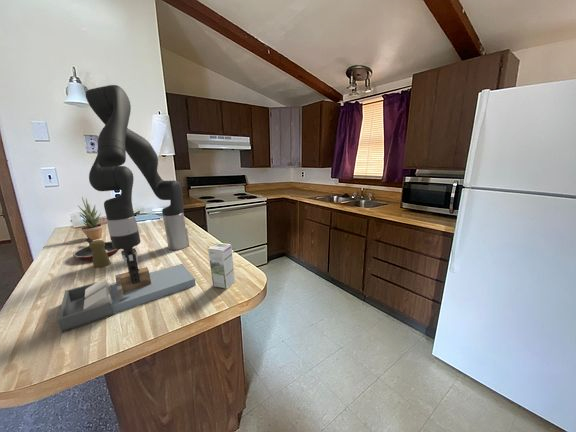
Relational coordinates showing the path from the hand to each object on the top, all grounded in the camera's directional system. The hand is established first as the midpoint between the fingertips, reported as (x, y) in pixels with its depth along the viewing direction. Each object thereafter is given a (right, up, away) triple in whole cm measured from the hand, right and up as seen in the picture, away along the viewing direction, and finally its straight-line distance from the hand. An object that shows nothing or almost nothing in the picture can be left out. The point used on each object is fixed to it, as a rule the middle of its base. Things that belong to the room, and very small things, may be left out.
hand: (134, 277), depth 79 cm
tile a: (-5, -6, -7) cm, 11 cm away
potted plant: (-61, +7, +59) cm, 85 cm away
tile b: (-10, -5, -1) cm, 11 cm away
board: (+4, -5, +4) cm, 7 cm away
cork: (-29, -1, +24) cm, 38 cm away
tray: (-10, -8, -6) cm, 14 cm away
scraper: (0, -3, +1) cm, 3 cm away
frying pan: (-44, +3, +40) cm, 60 cm away
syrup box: (+28, -4, +5) cm, 29 cm away
